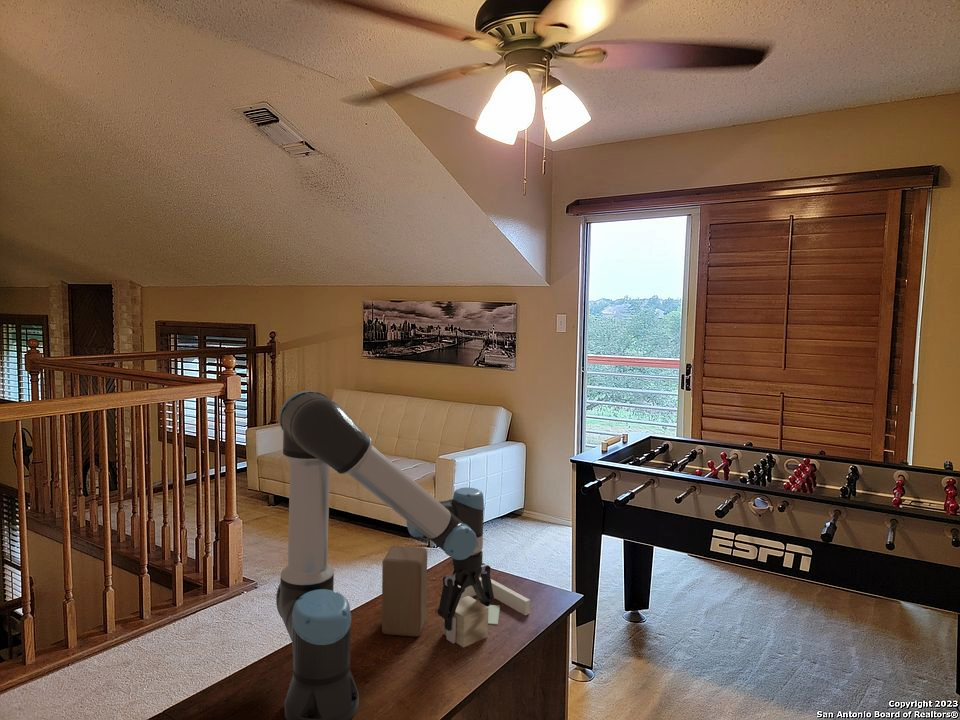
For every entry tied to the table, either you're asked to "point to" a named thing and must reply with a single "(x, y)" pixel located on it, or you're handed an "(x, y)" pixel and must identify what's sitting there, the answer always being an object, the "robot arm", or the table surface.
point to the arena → (504, 596)
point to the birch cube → (470, 621)
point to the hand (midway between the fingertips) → (465, 634)
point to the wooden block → (404, 591)
